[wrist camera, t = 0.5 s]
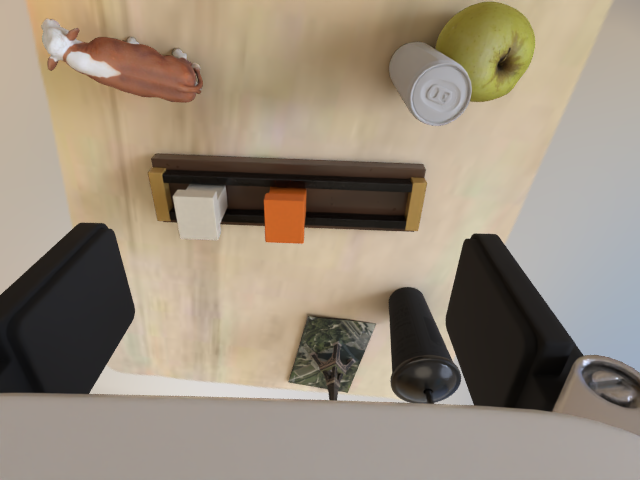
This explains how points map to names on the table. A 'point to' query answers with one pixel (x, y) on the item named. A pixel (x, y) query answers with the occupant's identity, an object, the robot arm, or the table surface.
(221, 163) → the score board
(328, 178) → the rails
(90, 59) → the bull figurine
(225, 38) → the table surface
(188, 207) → the white boxy piece
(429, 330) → the drinking cup
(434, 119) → the beverage can
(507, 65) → the apple
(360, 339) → the eiffel tower figurine
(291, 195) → the orange rectangular block
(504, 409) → the robot arm
